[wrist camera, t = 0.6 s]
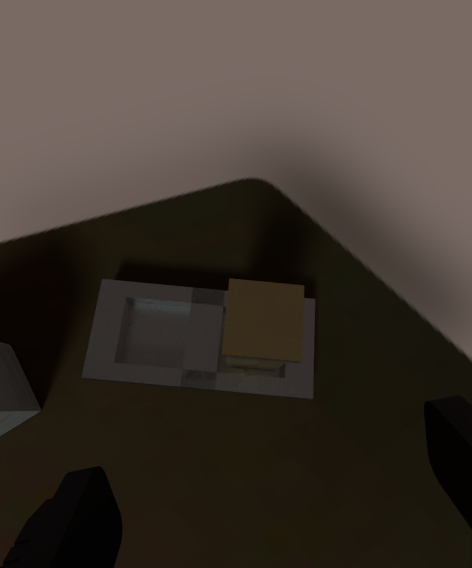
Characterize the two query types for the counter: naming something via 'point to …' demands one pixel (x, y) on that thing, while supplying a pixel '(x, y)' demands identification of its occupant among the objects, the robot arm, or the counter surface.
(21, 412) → the supplement box
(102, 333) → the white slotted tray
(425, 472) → the counter surface
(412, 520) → the counter surface
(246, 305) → the brown square post
